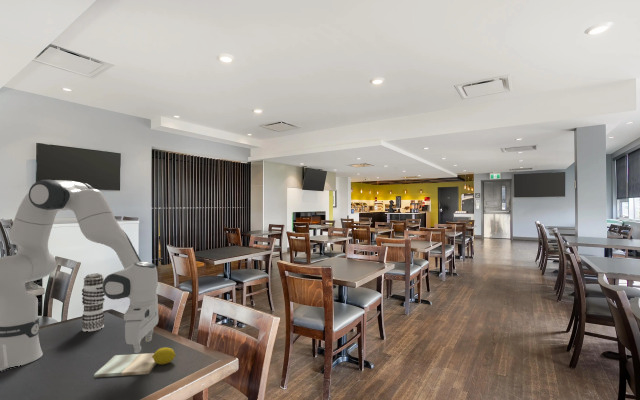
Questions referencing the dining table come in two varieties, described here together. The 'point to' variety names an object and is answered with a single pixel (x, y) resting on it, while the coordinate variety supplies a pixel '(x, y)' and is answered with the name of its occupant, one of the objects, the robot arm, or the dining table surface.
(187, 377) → the dining table surface
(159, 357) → the lemon
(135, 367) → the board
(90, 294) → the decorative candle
